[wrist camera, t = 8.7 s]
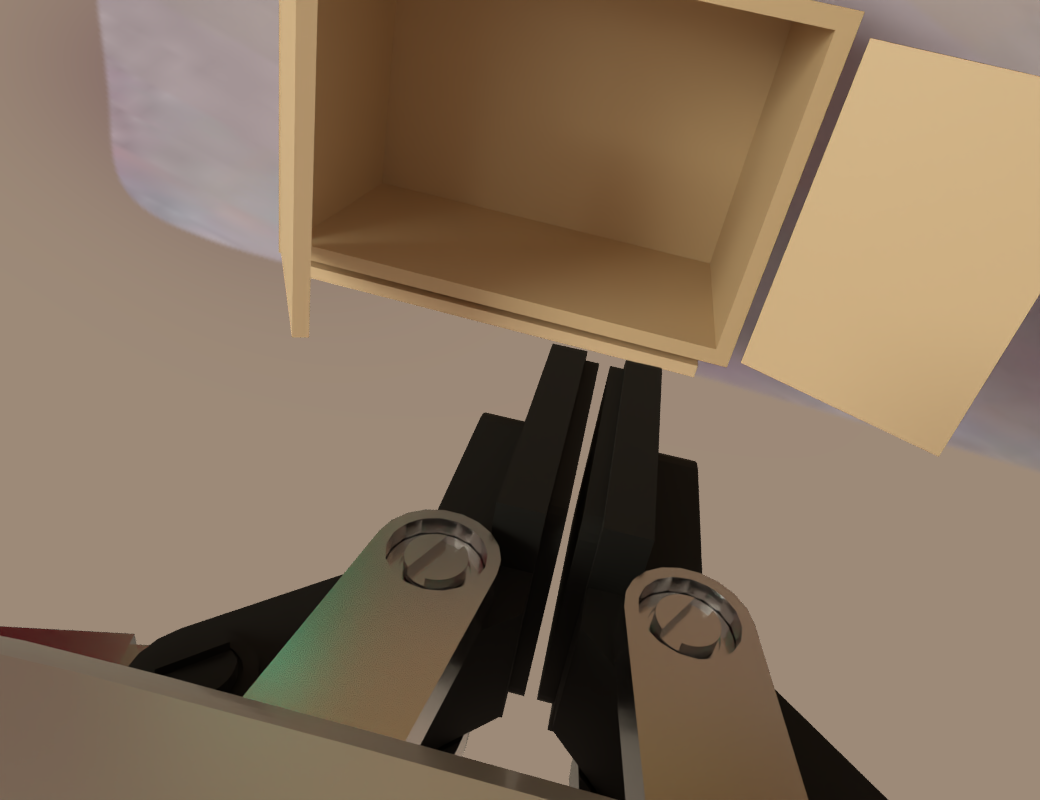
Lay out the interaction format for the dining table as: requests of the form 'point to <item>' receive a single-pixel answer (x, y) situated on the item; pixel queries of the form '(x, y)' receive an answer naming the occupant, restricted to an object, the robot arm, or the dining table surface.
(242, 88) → the dining table surface
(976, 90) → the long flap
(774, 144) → the carton
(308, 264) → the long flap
